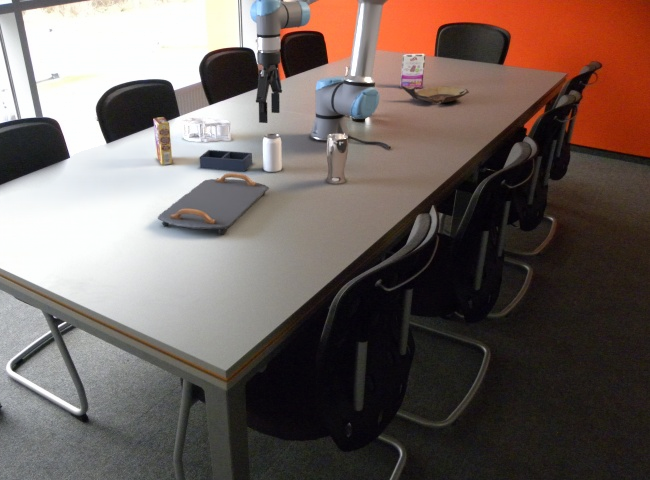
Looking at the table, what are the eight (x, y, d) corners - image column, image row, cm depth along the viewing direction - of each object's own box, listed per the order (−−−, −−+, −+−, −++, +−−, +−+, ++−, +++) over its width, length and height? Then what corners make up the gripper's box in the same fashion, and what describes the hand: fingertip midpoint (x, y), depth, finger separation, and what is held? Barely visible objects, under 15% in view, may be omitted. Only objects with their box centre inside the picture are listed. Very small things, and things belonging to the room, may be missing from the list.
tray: (252, 163, 222) (251, 152, 220) (244, 171, 215) (243, 160, 213) (209, 160, 227) (208, 149, 225) (200, 168, 220) (199, 157, 218)
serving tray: (224, 240, 167) (223, 219, 164) (151, 230, 175) (148, 209, 171) (273, 191, 197) (273, 173, 194) (209, 184, 205) (208, 166, 202)
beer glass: (348, 178, 206) (350, 133, 198) (344, 185, 200) (346, 140, 192) (328, 176, 208) (329, 132, 200) (323, 183, 202) (324, 138, 195)
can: (280, 173, 212) (279, 138, 206) (261, 172, 214) (260, 138, 208) (283, 166, 218) (282, 133, 212) (265, 166, 219) (264, 133, 213)
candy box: (173, 163, 225) (169, 122, 217) (162, 165, 224) (157, 123, 216) (168, 157, 232) (163, 116, 224) (157, 158, 231) (152, 118, 223)
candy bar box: (421, 86, 321) (425, 53, 312) (422, 88, 316) (425, 54, 308) (399, 86, 322) (402, 53, 314) (400, 88, 318) (403, 55, 310)
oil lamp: (461, 109, 278) (463, 91, 274) (396, 103, 291) (398, 87, 287) (471, 98, 295) (473, 81, 291) (410, 93, 307) (411, 77, 303)
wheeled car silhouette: (236, 136, 252) (235, 119, 248) (224, 144, 244) (223, 126, 240) (194, 132, 260) (192, 115, 256) (181, 140, 251) (179, 122, 247)
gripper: (269, 44, 207) (270, 108, 218) (244, 56, 187) (246, 126, 198) (290, 45, 205) (290, 109, 216) (267, 57, 185) (268, 127, 196)
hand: (269, 117), depth 207 cm, fingers open, 13 cm apart
